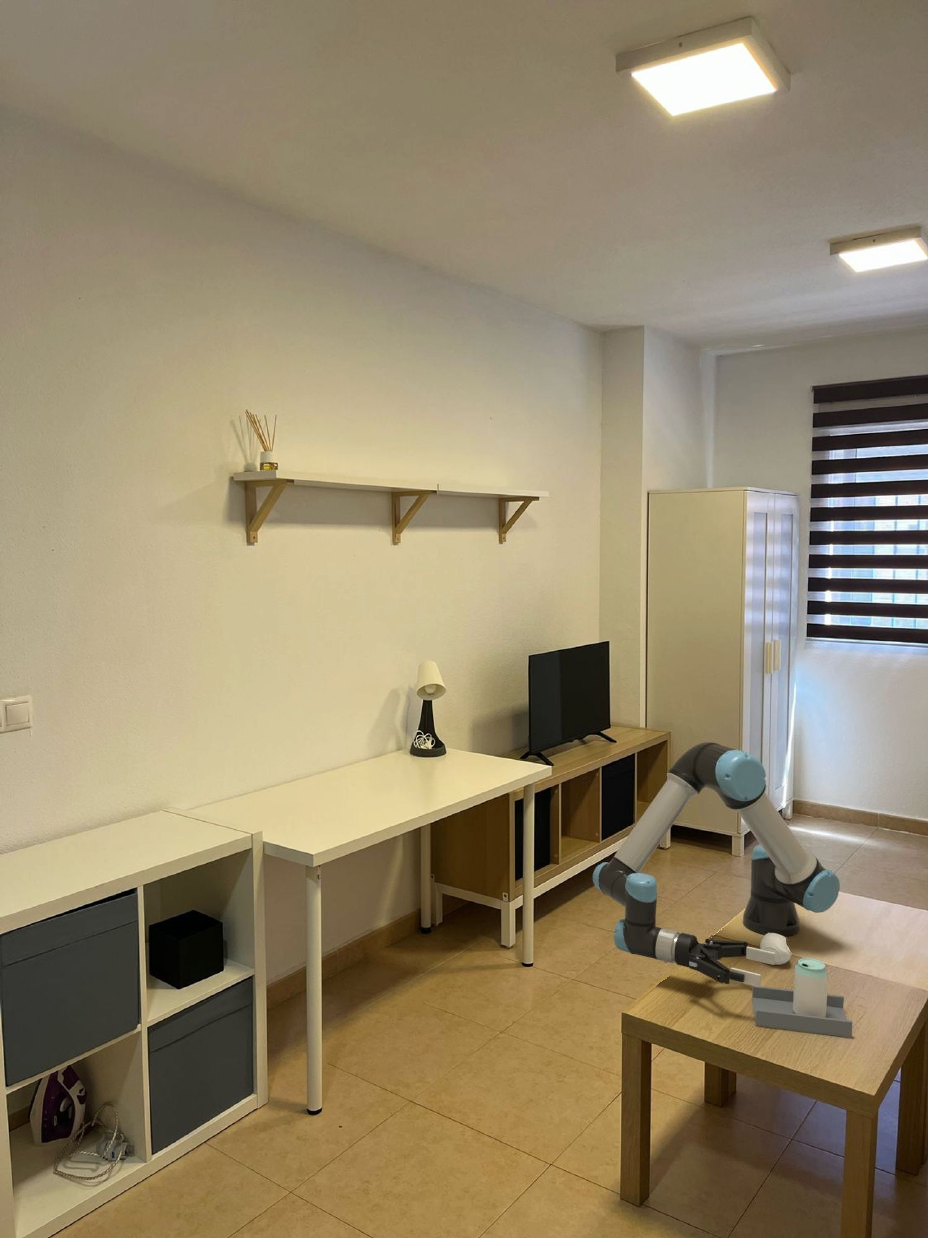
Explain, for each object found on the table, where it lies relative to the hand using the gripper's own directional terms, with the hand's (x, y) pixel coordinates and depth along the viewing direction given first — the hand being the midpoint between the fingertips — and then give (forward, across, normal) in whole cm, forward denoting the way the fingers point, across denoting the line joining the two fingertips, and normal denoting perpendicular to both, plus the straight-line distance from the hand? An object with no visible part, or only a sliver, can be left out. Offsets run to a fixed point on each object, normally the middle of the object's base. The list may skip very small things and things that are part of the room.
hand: (767, 969), depth 219 cm
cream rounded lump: (-4, -26, -9) cm, 28 cm away
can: (+10, 0, -8) cm, 13 cm away
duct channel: (+8, +1, -9) cm, 12 cm away
